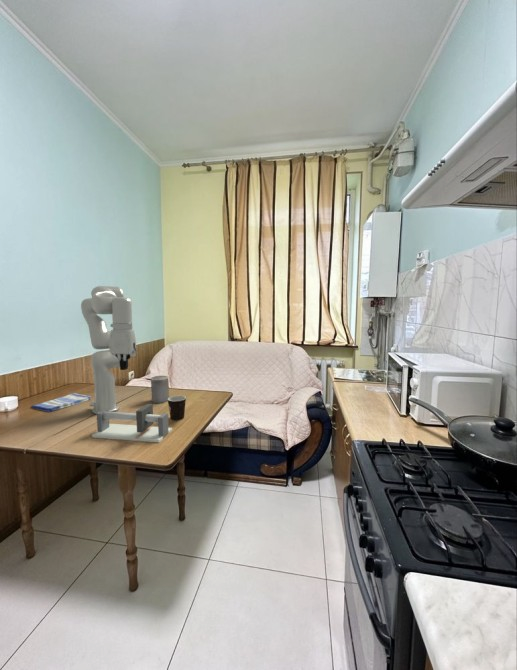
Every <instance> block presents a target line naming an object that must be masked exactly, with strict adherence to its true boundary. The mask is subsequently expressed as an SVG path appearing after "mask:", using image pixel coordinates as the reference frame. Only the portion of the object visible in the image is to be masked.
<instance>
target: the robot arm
mask: <svg viewBox="0 0 517 670" xmlns="http://www.w3.org/2000/svg"><path fill="white" fill-rule="evenodd" d="M90 295H91V297H89V298H84V299H82V301H81V302H80V303H81V304H80V308H81V314H82V315H83V318H84V320H85V322H86V324H87V327H88V330H89V331H88V332H89V337H90V342H91V346H92V348H93V349H95V350H99V351H95V352H93V353H92V354H91V356H90V363H91V366H92V367H91V368H92V371H93V379H94V380H93V383H94V385H93V386H94V387H93V388H94V399H95V401H94V400H93V401H90V403H89V407H93V408H92V409H91V410H92V412H91V413H92V414H96V415H97V413H99V412H101V411H103V410H108V411H109V412H117V411H118V410H119V409H120V405H119V404H116V403H117V399H116V397H117V396H116V383H115V382H116V379H115V375H114V373H113V372H112V371H110V369H115V368H119V369H120V371H126V370H129V361H130V359H131V358H132V357H136V356H137V354H136V352H137V340H136V334H135V331H134V329H133V311H132V310H133V309H132V300H131V298H128V297H125V295H124V291H123V290H122V288H120V287H118V286H111V285H110V286H109V285H107V286H105V285H98V286H95V287H93V289H92V290H91V292H90ZM100 315H111V316H112V317H111V318H112V323H111V324H110V327H111V328H112V330H108V325H107V322H106V321H105V320H104V319H103V318H102V317H101V316H100Z"/></svg>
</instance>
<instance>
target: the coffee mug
mask: <svg viewBox="0 0 517 670" xmlns="http://www.w3.org/2000/svg"><path fill="white" fill-rule="evenodd" d="M186 401H187V397H186V396H185V395H173V396H169V398H168V401H167V403H168V411H169V415H170V420H171V421H175V422H176V421H182V420H184V419H185V413H186Z"/></svg>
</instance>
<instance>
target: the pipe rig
mask: <svg viewBox="0 0 517 670" xmlns="http://www.w3.org/2000/svg"><path fill="white" fill-rule="evenodd" d="M110 420H120V421H134V422H137V420H136V412H135V413H133V412H120V411H118V412H117V411H114V412H109V411H108V410H103V411H101V412H99V413H97V414H96V427H97V431H96V432H94V433H93V434H91V438H95V439H97V438H98V439H110V440H120V441H121V440H123V441H135V442H149V443H160V442H162V440H164V438H166V437H167V436H168V435H169V433H170V432H172V431H173V427H169V414H168V412H163V413H162V414H154V413H153V414H146V415H145V422H146V421H147V422H153V423H157V424H158V425H157V426H153V425H151V426H150V427H149V428H148V429H146V430H145V431H144V432H137V424H136V425H135V424H122V423H120V424H118V423H110Z"/></svg>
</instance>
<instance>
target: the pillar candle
mask: <svg viewBox="0 0 517 670" xmlns="http://www.w3.org/2000/svg"><path fill="white" fill-rule="evenodd" d="M169 382H170V381H169V376H168V375H156V376H152V377H151V378H150V386H151V390H150V391H151V402H152V404H160V403H161V404H162V403H168V398H169V397H170V387H169V386H170V385H169Z"/></svg>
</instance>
